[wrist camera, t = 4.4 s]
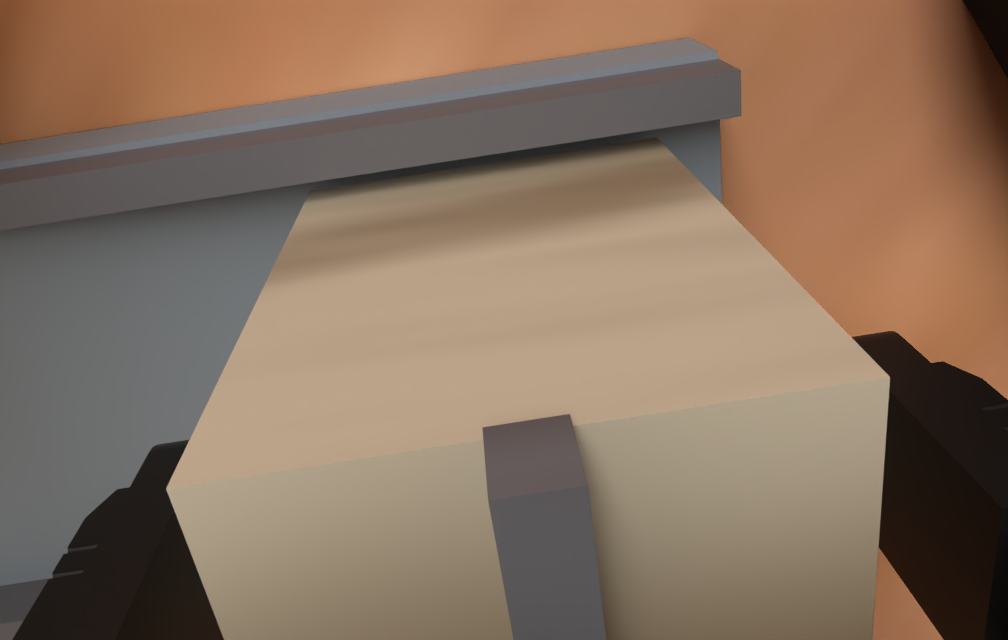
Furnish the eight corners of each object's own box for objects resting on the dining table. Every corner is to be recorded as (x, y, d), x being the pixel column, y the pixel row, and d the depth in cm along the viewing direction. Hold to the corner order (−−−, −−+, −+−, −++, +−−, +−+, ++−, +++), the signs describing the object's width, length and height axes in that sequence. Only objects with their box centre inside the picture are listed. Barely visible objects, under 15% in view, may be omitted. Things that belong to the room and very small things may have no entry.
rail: (-509, 223, 13) (-703, 285, 11) (689, 37, 13) (740, 62, 11) (-244, 604, 17) (-352, 711, 15) (707, 457, 17) (748, 541, 14)
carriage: (308, 184, 12) (121, 557, 5) (656, 130, 12) (954, 428, 5) (392, 526, 15) (347, 1081, 8) (677, 482, 15) (892, 999, 8)
